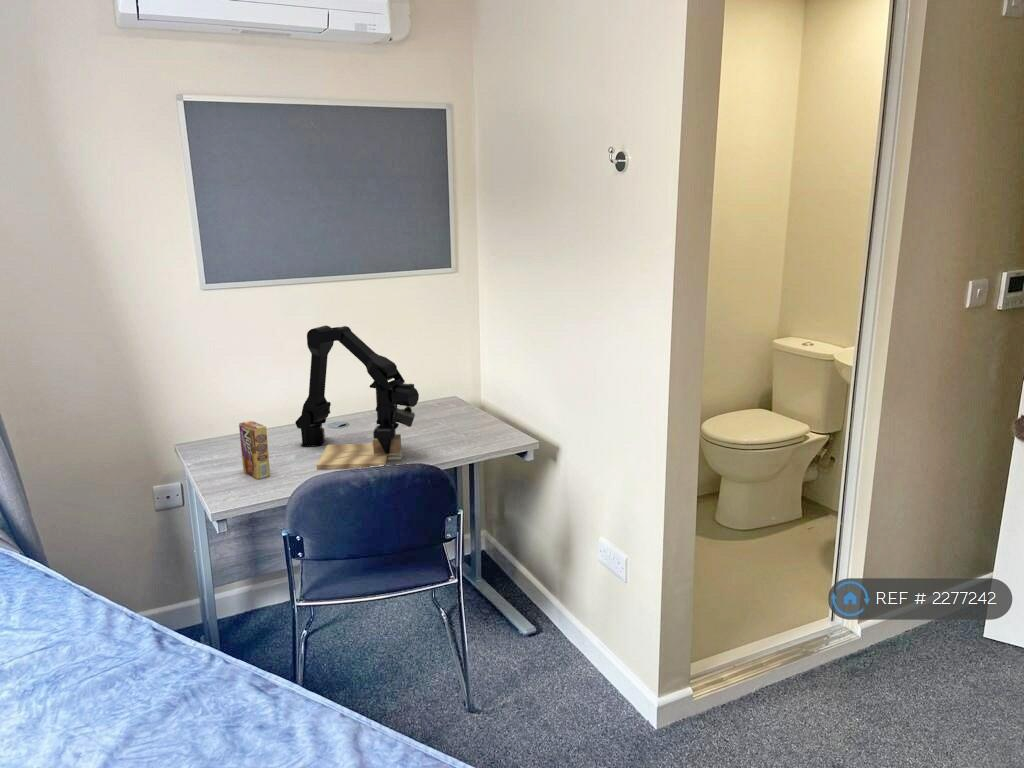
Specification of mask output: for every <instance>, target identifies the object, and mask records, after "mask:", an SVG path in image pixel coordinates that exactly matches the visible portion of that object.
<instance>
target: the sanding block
mask: <svg viewBox="0 0 1024 768" xmlns="http://www.w3.org/2000/svg"><path fill="white" fill-rule="evenodd" d="M372 444H373V449H374V456H383V455H400V454H401V453H402V433H396V435H395V437H394V438H392V439H391V445H390V452H389V454H385V452H384V450H383V448H382V446H381V444H380V443H379V441H378V439H377V438H376V439H375V438H374V437H373V439H372Z"/></svg>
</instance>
